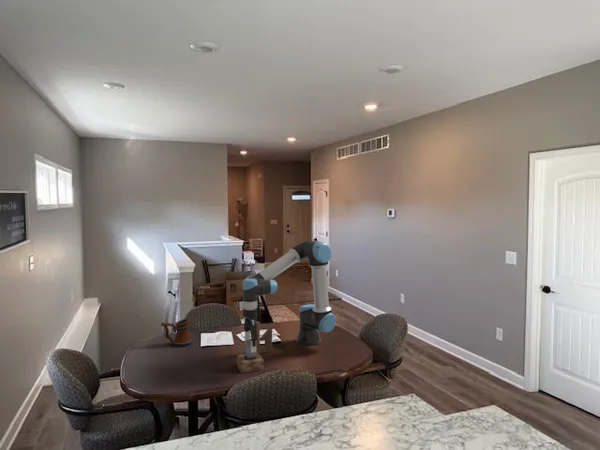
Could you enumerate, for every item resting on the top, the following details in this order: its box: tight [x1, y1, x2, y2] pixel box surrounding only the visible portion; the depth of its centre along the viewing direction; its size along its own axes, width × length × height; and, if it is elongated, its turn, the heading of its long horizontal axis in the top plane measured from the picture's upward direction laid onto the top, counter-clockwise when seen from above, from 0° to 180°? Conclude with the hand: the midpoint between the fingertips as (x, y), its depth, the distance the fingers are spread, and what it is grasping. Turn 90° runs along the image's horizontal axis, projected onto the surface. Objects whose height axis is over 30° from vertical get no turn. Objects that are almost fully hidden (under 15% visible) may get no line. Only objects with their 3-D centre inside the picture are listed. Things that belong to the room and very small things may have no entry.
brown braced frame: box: [254, 321, 273, 354], centre depth 247 cm, size 4×11×18 cm, turn 111°
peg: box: [244, 339, 255, 360], centre depth 225 cm, size 4×4×14 cm
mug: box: [160, 318, 193, 348], centre depth 258 cm, size 18×12×15 cm, turn 108°
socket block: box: [236, 353, 265, 374], centre depth 225 cm, size 12×12×5 cm
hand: (250, 347), depth 225 cm, fingers open, 13 cm apart
